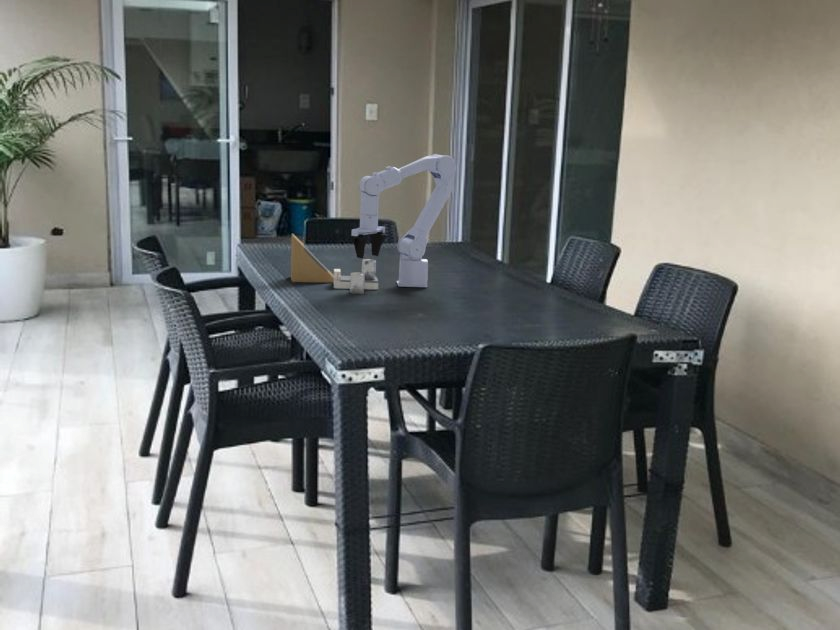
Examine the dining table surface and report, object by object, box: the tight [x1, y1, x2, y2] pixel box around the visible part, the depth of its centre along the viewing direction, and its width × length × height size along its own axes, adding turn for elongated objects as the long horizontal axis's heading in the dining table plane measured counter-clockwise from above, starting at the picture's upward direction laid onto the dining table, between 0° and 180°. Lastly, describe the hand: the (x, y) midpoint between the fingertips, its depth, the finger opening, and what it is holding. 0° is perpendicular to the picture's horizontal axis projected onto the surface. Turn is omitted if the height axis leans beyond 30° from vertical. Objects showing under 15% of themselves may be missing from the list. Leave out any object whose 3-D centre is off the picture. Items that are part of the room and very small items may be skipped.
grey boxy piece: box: [332, 268, 379, 290], centre depth 281 cm, size 14×9×5 cm, turn 97°
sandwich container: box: [290, 233, 334, 283], centre depth 288 cm, size 9×15×15 cm, turn 102°
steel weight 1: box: [349, 271, 365, 295], centre depth 272 cm, size 4×4×6 cm
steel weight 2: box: [361, 258, 377, 280], centre depth 281 cm, size 4×4×6 cm
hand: (367, 256), depth 280 cm, fingers open, 7 cm apart
